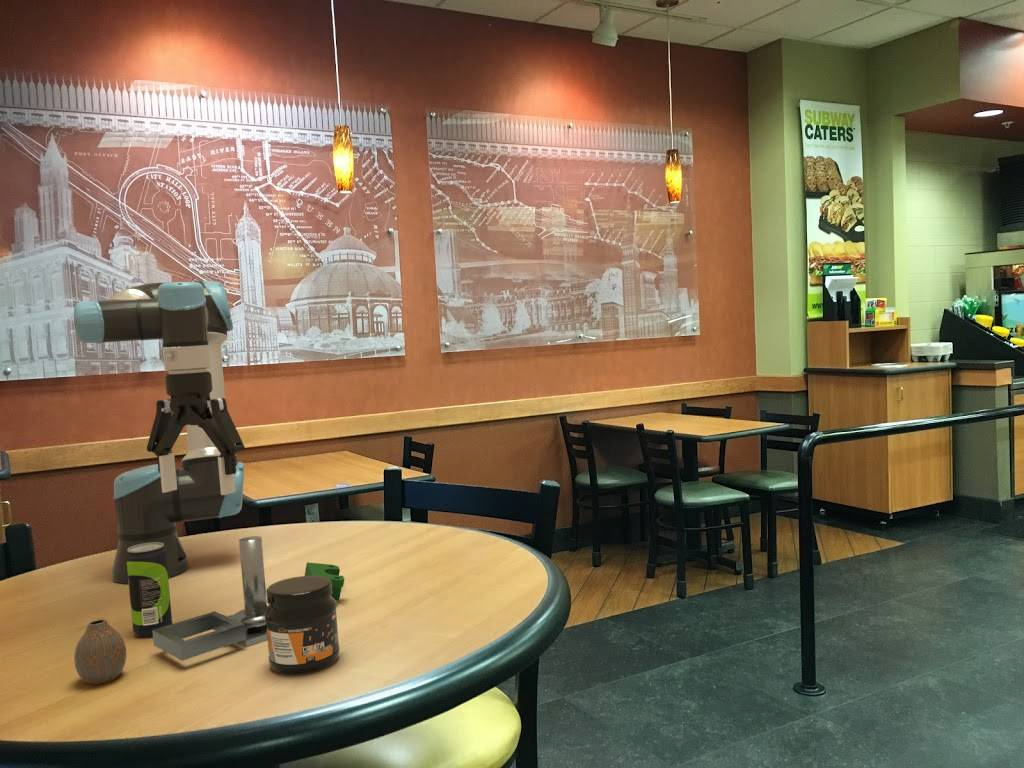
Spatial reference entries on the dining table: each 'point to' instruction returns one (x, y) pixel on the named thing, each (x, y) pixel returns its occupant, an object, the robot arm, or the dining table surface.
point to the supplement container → (301, 625)
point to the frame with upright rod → (228, 629)
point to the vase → (99, 653)
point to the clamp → (327, 576)
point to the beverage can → (148, 588)
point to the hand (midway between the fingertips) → (198, 492)
